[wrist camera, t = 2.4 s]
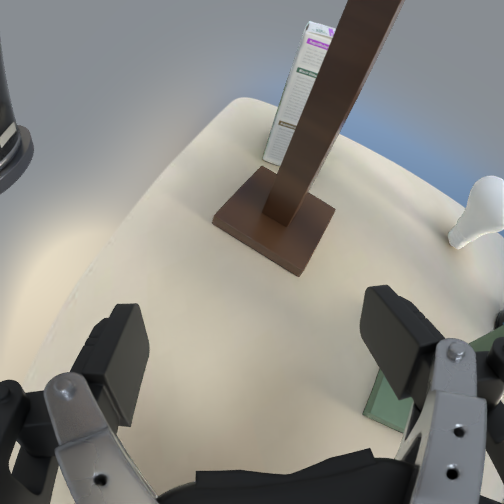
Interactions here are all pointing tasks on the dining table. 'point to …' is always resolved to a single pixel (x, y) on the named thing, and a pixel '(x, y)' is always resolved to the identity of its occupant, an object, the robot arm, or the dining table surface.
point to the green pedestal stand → (396, 411)
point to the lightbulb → (480, 212)
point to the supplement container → (500, 319)
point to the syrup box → (297, 89)
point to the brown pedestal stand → (310, 146)
